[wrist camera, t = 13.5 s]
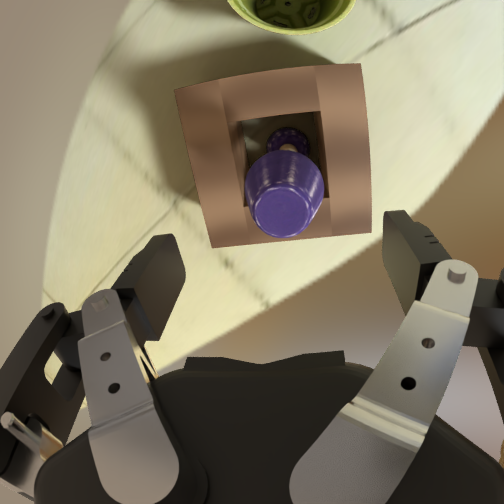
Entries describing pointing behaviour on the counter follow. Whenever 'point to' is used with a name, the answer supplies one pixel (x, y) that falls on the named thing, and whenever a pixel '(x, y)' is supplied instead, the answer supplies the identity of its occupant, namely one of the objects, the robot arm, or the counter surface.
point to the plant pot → (293, 14)
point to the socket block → (270, 104)
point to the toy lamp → (284, 185)
